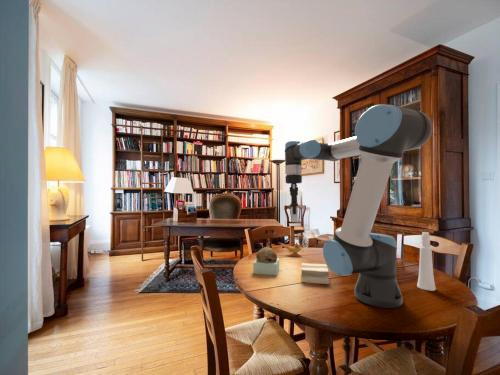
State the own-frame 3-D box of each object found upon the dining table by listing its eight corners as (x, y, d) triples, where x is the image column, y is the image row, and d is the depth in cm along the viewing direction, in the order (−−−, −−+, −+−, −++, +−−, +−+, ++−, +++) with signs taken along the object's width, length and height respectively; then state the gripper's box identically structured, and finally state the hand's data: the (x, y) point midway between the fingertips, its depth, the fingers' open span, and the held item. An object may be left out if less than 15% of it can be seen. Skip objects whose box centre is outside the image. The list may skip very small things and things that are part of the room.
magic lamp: (279, 252, 154) (279, 234, 154) (308, 254, 148) (308, 236, 148) (276, 254, 147) (276, 236, 148) (307, 257, 142) (307, 238, 142)
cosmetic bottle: (419, 283, 101) (418, 230, 102) (437, 288, 97) (436, 232, 97) (415, 287, 97) (414, 232, 98) (433, 292, 93) (433, 234, 93)
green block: (276, 275, 111) (276, 264, 111) (253, 273, 113) (253, 262, 113) (279, 267, 122) (279, 257, 122) (257, 266, 124) (257, 256, 124)
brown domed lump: (258, 270, 113) (260, 256, 110) (252, 255, 122) (254, 242, 119) (278, 268, 116) (281, 255, 113) (271, 254, 125) (273, 241, 122)
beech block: (328, 284, 100) (328, 271, 100) (301, 281, 103) (301, 270, 103) (326, 275, 111) (326, 264, 111) (301, 273, 113) (301, 262, 114)
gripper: (302, 171, 101) (303, 223, 100) (300, 177, 126) (301, 218, 124) (284, 172, 102) (285, 222, 101) (286, 177, 127) (286, 218, 126)
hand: (294, 220), depth 113 cm, fingers open, 13 cm apart
